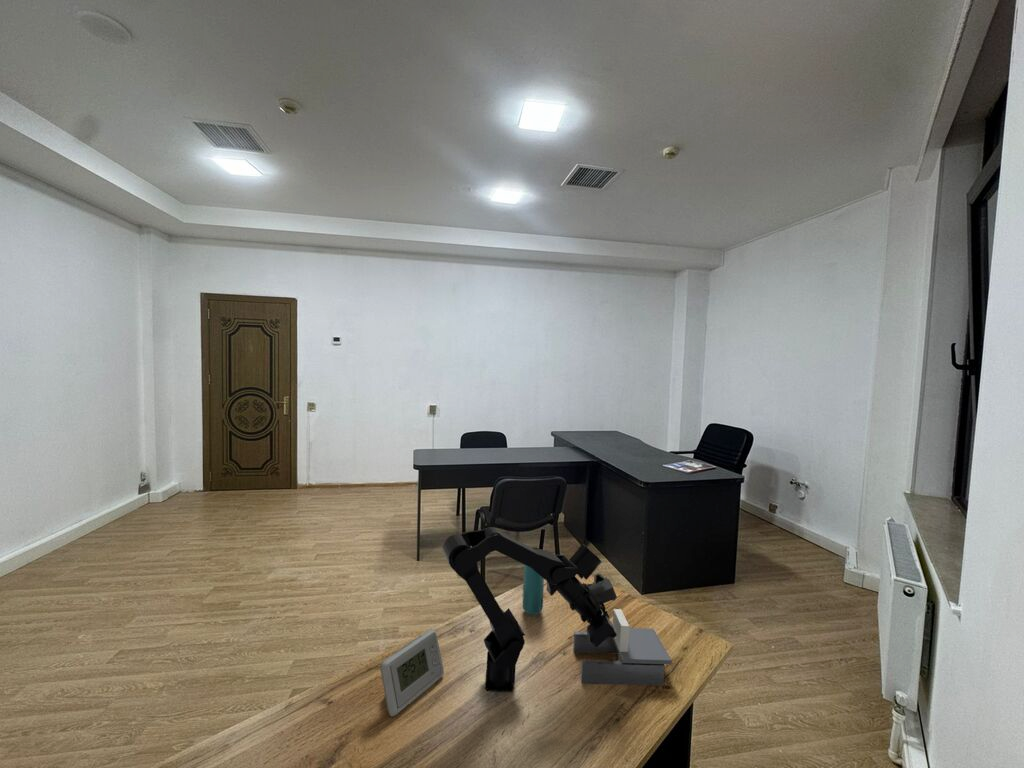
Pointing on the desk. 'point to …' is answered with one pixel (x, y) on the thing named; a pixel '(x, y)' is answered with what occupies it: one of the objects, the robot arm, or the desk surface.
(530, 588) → the beverage bottle
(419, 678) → the digital clock
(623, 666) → the metal rails
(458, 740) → the desk surface
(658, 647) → the sliding lid
